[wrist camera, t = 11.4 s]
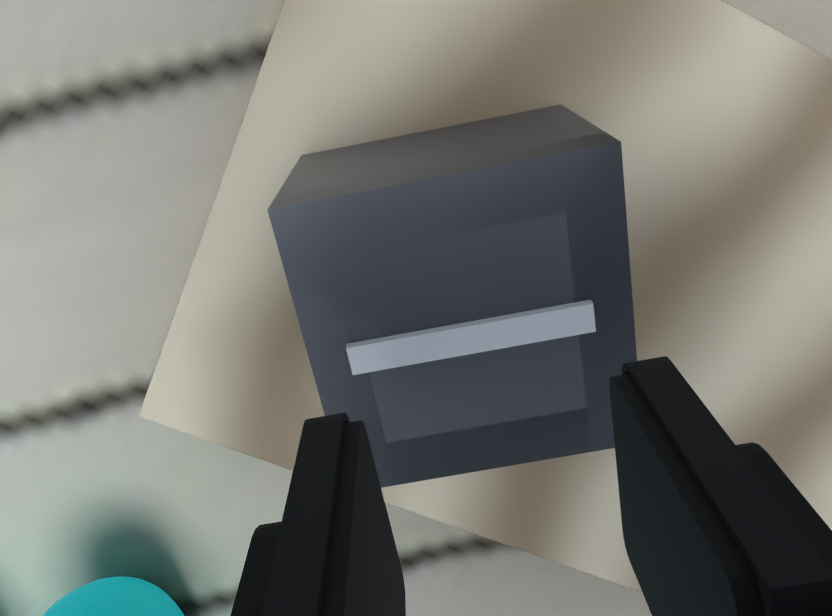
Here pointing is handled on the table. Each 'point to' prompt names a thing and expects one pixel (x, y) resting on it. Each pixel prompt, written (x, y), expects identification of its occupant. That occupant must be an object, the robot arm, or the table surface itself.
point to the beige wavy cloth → (646, 222)
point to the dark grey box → (464, 289)
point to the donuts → (116, 599)
